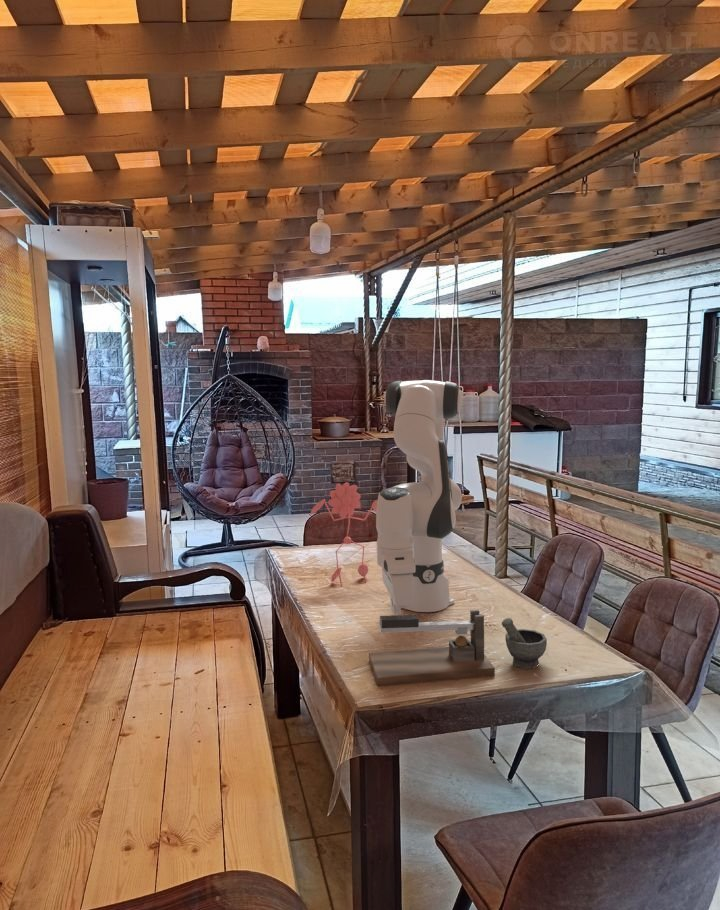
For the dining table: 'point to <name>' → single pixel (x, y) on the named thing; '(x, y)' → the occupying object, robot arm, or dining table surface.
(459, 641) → the nut
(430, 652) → the press base
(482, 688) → the dining table surface
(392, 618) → the lever
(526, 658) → the mortar and pestle
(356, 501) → the figurine
